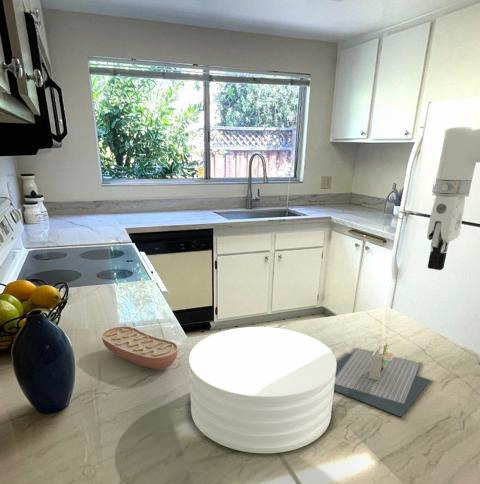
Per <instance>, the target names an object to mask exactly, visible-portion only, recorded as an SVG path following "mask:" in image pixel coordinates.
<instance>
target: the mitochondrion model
mask: <svg viewBox="0 0 480 484" xmlns="http://www.w3.org/2000/svg"><path fill="white" fill-rule="evenodd" d="M101 340H102V343H103V345H104V347H105V348H107V349H108V350H109V351H111V352H112V353H113V354H115V355H117V356H118V357H119V358H122V359H123V360H125V361H128V362H130V363H133V364H136V365H138V366H141V367H145V368H149V369H152V370H164V369H166V368H169V367H171V366H172V364H173V363H174V362H175V360H176V359H177V356H178V353H179V347H178V345H177V344H176V342H173V341H171V340H166V339H162V338H159V337H156V336H153V335H150V334H148V333H145V332H143V331H141V330H139V329H137V328H135V327H132V326H117V327H113V328H110V329H107V330H105V331H104V332H103V333H101Z"/></svg>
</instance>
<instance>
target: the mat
mask: <svg viewBox="0 0 480 484" xmlns="http://www.w3.org/2000/svg"><path fill="white" fill-rule="evenodd" d="M352 355H353V353H352V354H351V353H347V354H346V355H344V356H343V357H342V358H341V359H340V360H338V361H336V362H337V367H336V374H335V377H336V376H337V374H338V373H339V372H340V370H341V369H342V368H343V366H344V365H345V364H346V363H347V361H348V360H349V359H350V357H351V356H352ZM430 381H431V380H430V379H428V378H425V377H422V376H419V375H415V377H414V380H413V382H412V385H411V387H410V390H409V392H408V395H407V397H406V399H405V402H404V404H402V403H399V402H395V401H392V400H389V399H385V398H382V397H378V396H375V395H371V394H368V393H364V392H361V391H358V390H354V389H351V388H347V387H344V386H340V385H337V384H334V392H336V393H339V394H341V395H344V396H346V397H348V398H351V399H354V400H357V401H359V402H362V403H364V404H366V405H369V406H371V407H374V408H376V409H379V410H382V411H384V412H386V413H388V414H392V415H394V416H397V417H399V418H402V417H403V416H404V415H405V413H406V412H407V411H408V410H409V408H410V407H411V405H412V404H413V403H414V402H415V400H416V399H417V398H418V397H419V395H420V394H421V393H422V392H423V391H424V389H425V388H426V387H427V386H428V384H429V383H430Z"/></svg>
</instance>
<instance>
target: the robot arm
mask: <svg viewBox="0 0 480 484" xmlns="http://www.w3.org/2000/svg"><path fill="white" fill-rule="evenodd" d="M477 163H480V128H479V127H475V126H455V127H449V128H447V129H446V130H444V131H443V133H442V136H441V141H440V145H439V152H438V157H437V162H436V168H435V174H434V179H433V185H432V190H431V196H434V199H433V203H432V207H431V212H430V215H429V217H430V218H429V220H428V221H429V222H428V225H427V226H428V227H427V232H426V238H427V239H428V240H429V241H431V243H430V251H429V257H428V262H427V269H429V270H430V269H431V270H436V271H441V270H444V267H445V263H446V259H447V254H448V252H447V251H448V248H449V244H450V243H451V242H452V241H454V240H456V239H457V238H459V237H460V233H461V229H462V222H463V218H464V217H463V216H464V210H465V202H466V198H468V197H469V196H470V191H471V187H472V183H473V178H474V173H475V169H476V165H477Z"/></svg>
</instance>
